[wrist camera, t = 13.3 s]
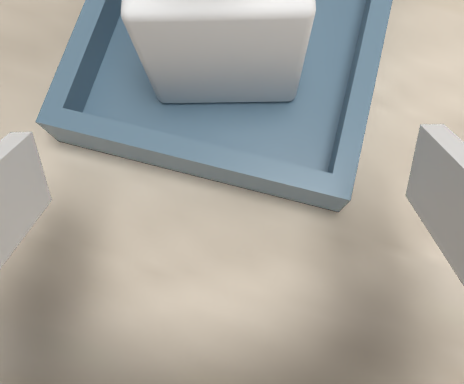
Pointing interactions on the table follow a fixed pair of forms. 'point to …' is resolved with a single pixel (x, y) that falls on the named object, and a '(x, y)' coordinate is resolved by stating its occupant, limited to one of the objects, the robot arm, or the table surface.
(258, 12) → the medicine bottle
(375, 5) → the tray
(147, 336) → the table surface
